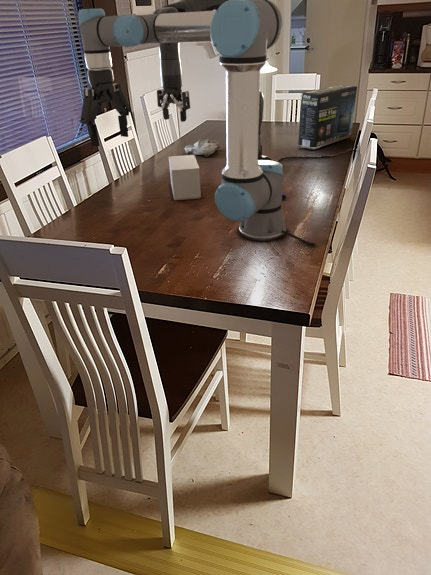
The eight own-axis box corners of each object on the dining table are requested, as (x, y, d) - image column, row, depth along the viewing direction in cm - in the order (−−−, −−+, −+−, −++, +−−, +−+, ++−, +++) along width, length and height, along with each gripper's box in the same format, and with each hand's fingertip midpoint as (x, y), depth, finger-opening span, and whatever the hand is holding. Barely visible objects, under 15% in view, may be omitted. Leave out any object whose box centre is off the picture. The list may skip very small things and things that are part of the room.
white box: (171, 184, 195) (168, 156, 189) (195, 182, 196) (194, 154, 190) (174, 200, 178) (171, 170, 172) (201, 198, 179) (199, 168, 173)
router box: (314, 151, 231) (318, 94, 217) (296, 148, 237) (299, 92, 224) (352, 138, 251) (358, 85, 238) (335, 135, 258) (340, 83, 245)
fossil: (208, 150, 224) (188, 131, 227) (198, 168, 231) (178, 149, 234) (228, 148, 238) (208, 130, 241) (217, 165, 244) (198, 147, 248)
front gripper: (118, 64, 148) (127, 131, 159) (59, 73, 130) (73, 148, 141) (136, 64, 145) (144, 133, 156) (77, 74, 127) (91, 151, 138)
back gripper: (192, 72, 162) (195, 120, 170) (163, 70, 170) (167, 116, 178) (178, 75, 157) (182, 124, 165) (149, 73, 165) (154, 120, 173)
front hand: (110, 141), depth 148 cm, fingers open, 13 cm apart
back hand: (174, 120), depth 172 cm, fingers open, 8 cm apart
